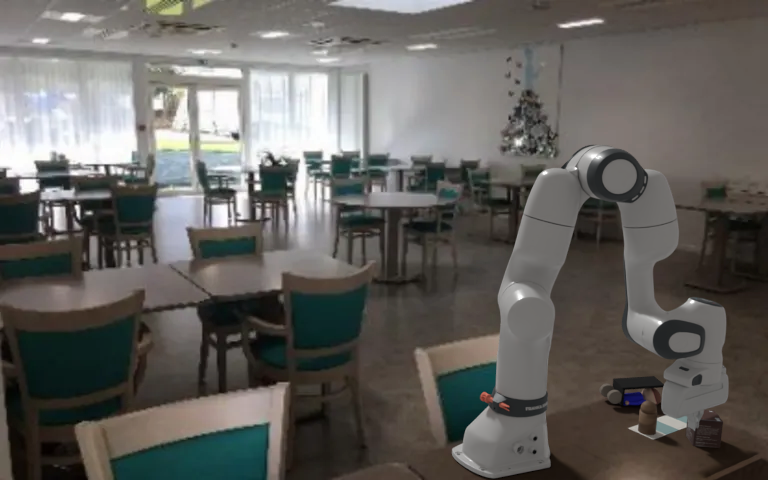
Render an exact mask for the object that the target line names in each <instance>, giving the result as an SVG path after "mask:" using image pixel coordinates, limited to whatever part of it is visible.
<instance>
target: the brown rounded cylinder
mask: <svg viewBox="0 0 768 480" xmlns="http://www.w3.org/2000/svg"><path fill="white" fill-rule="evenodd" d="M638 412H639V414H638V424H637V425H638V431H639V432H640V433H642V434H645V435H654V434H656V426H657V418H658V413H659V412H658V405H655V403H654V402H652V401H644V402H643V403H642V404H640V408H639V411H638Z"/></svg>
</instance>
